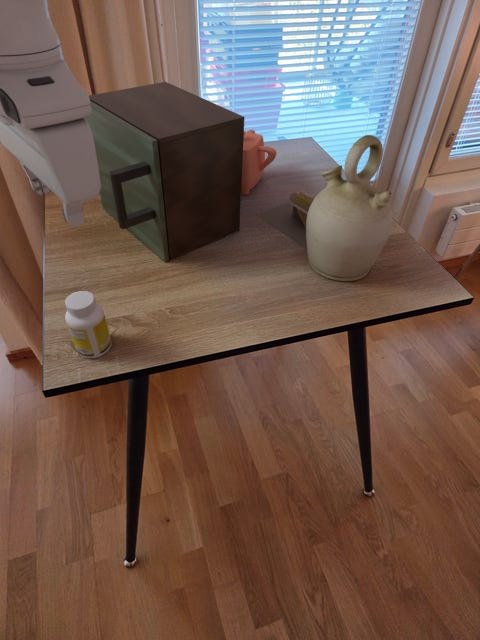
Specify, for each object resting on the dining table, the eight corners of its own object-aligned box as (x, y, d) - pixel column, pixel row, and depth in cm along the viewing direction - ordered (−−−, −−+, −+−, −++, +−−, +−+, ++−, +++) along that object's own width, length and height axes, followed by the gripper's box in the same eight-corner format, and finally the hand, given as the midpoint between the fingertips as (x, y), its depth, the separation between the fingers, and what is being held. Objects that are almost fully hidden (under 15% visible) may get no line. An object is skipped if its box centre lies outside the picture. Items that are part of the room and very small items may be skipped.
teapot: (250, 167, 114) (253, 116, 105) (279, 192, 104) (284, 139, 95) (193, 177, 109) (191, 124, 99) (218, 205, 99) (218, 149, 89)
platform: (309, 251, 86) (314, 223, 82) (255, 213, 96) (257, 187, 92) (348, 234, 92) (355, 207, 87) (294, 200, 102) (297, 174, 97)
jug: (287, 249, 87) (305, 123, 69) (351, 237, 91) (383, 116, 73) (322, 295, 76) (354, 161, 59) (392, 278, 81) (441, 150, 63)
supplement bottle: (108, 330, 68) (96, 283, 61) (115, 353, 64) (103, 307, 58) (73, 339, 66) (57, 292, 59) (79, 363, 63) (62, 317, 56)
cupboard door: (134, 275, 78) (112, 151, 62) (74, 218, 92) (44, 104, 75) (169, 260, 82) (157, 140, 66) (107, 207, 95) (84, 97, 79)
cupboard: (170, 260, 82) (158, 138, 66) (108, 207, 96) (85, 96, 79) (239, 230, 91) (244, 116, 75) (173, 186, 104) (165, 81, 88)
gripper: (-46, 60, 45) (1, 182, 54) (27, 115, 34) (69, 255, 44) (14, 53, 48) (48, 169, 57) (98, 101, 37) (123, 235, 47)
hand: (58, 207), depth 50 cm, fingers open, 8 cm apart
